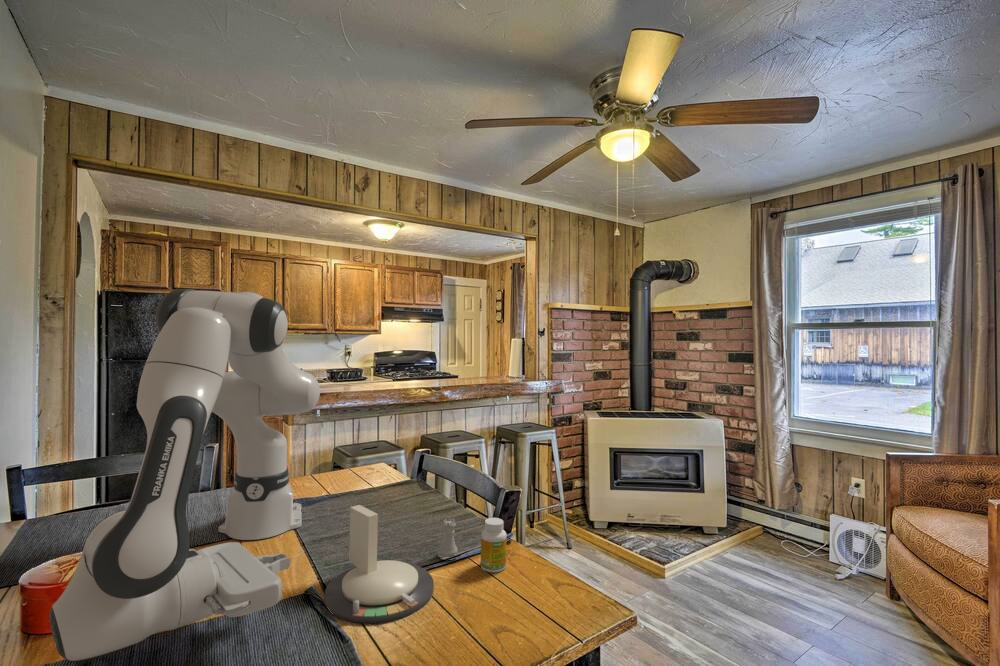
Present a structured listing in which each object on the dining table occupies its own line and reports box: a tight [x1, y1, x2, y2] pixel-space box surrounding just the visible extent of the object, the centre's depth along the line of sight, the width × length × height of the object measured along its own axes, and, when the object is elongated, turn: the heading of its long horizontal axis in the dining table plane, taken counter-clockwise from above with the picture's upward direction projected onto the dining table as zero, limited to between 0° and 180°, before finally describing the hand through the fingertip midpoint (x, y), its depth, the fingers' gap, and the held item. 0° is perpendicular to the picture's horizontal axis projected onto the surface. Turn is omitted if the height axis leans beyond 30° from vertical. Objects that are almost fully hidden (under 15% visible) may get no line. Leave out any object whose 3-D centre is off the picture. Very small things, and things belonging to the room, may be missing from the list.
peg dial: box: [342, 504, 418, 605], centre depth 89 cm, size 20×14×12 cm
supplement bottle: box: [480, 517, 508, 573], centre depth 100 cm, size 5×5×10 cm
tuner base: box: [323, 561, 435, 625], centre depth 89 cm, size 20×20×3 cm
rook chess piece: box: [437, 518, 459, 557], centre depth 104 cm, size 4×4×8 cm
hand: (286, 559), depth 83 cm, fingers closed
